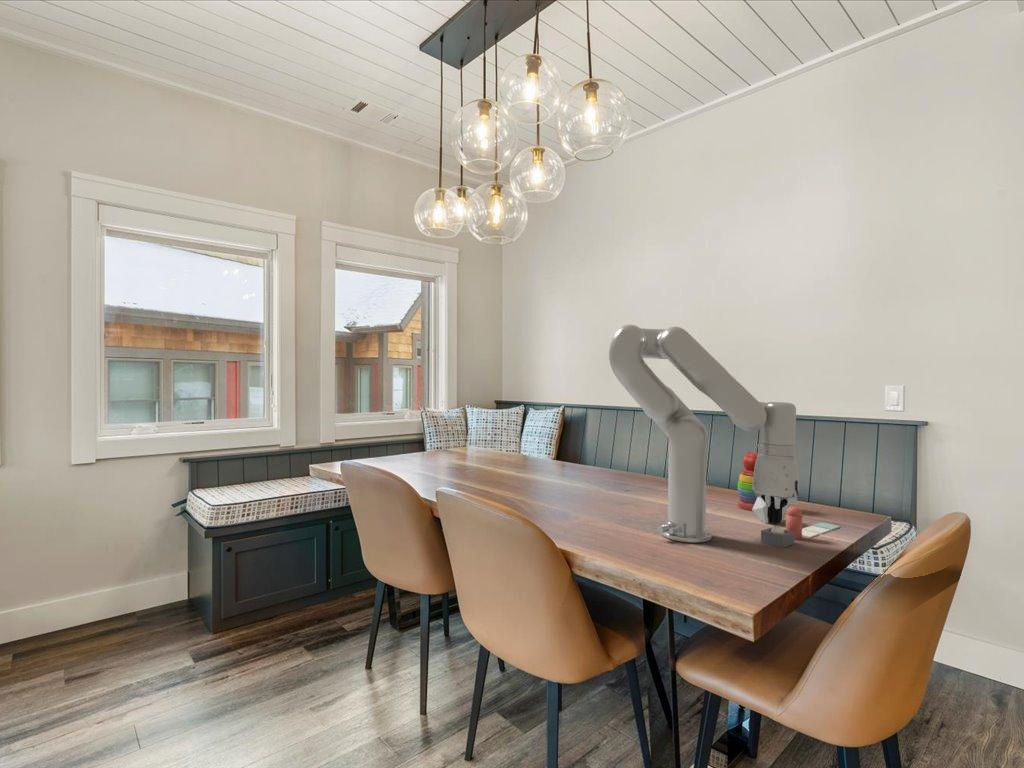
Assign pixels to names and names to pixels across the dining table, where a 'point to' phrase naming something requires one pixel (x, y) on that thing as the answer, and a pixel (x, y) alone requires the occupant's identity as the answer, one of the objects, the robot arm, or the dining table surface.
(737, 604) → the dining table surface
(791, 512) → the pawn
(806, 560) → the dining table surface
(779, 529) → the dome
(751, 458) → the stacking bear
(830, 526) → the tile
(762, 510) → the die
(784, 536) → the grey square tray
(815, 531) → the track
